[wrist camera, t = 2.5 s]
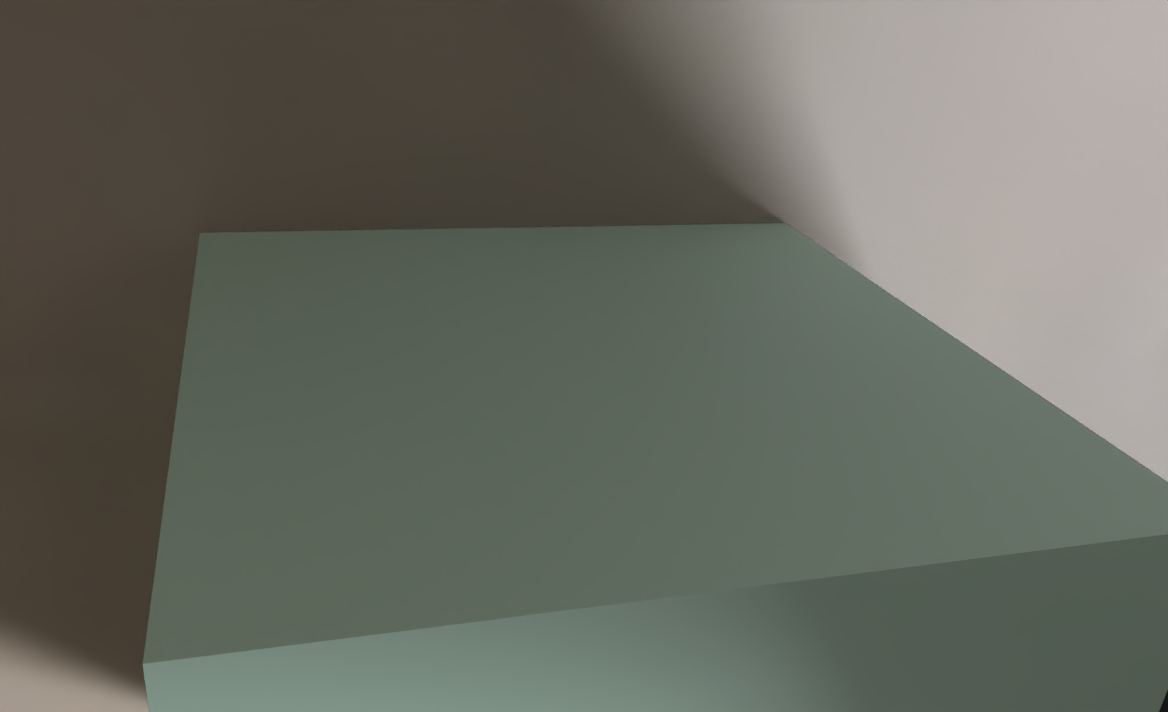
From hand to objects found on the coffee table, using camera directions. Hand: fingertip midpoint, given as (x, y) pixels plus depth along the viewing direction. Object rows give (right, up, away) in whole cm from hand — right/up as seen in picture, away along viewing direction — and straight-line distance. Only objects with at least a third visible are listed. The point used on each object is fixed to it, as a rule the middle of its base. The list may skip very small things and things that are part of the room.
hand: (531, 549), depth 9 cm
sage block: (0, 0, +1) cm, 1 cm away
